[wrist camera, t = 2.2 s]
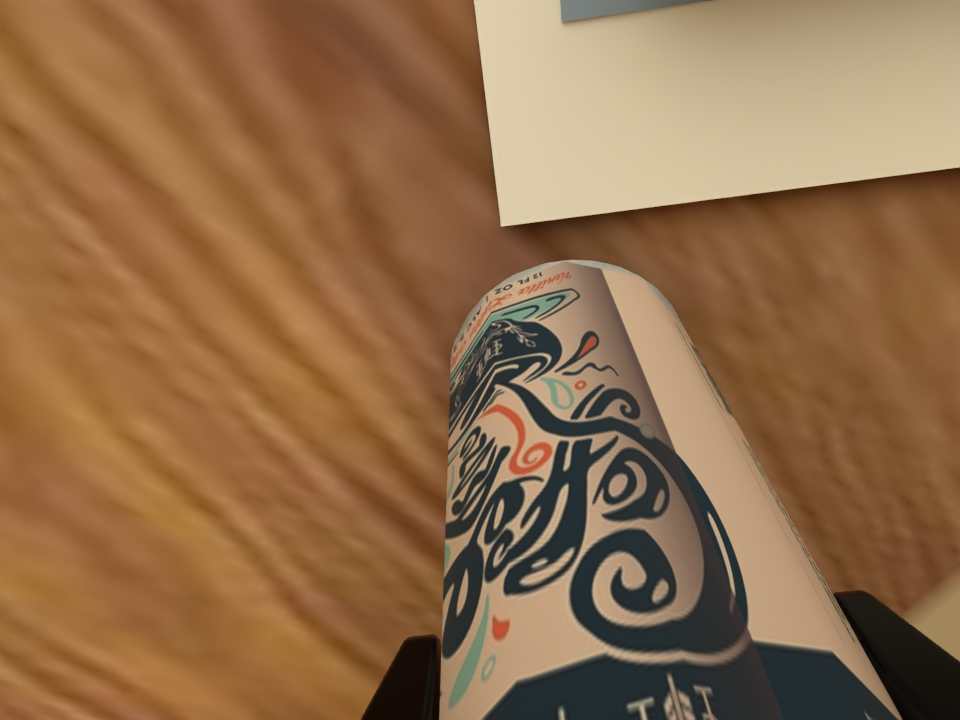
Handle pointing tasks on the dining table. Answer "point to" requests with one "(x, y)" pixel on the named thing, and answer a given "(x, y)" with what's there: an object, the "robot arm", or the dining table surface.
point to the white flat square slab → (711, 98)
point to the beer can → (621, 527)
